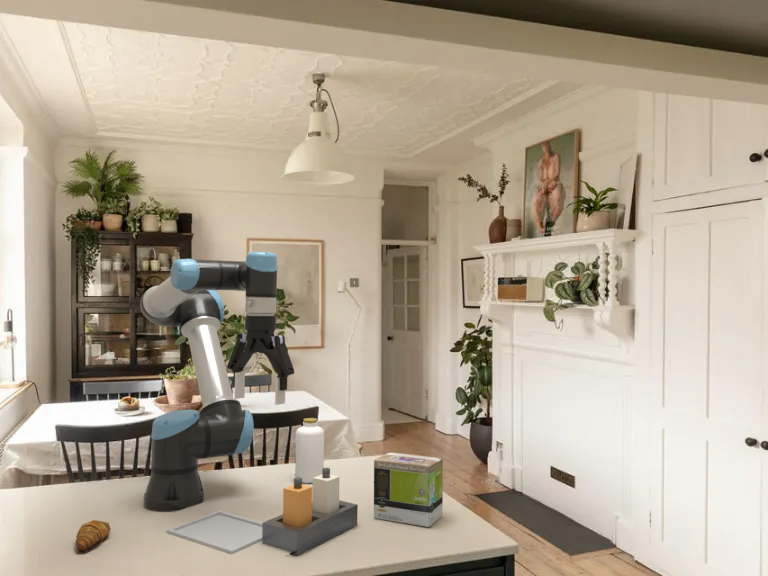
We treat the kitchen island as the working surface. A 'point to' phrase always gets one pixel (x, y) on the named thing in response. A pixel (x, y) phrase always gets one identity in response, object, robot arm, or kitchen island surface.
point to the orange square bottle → (297, 504)
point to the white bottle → (309, 451)
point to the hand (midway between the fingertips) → (259, 401)
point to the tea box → (408, 488)
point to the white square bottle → (325, 492)
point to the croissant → (91, 535)
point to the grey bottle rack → (309, 529)
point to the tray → (221, 531)
